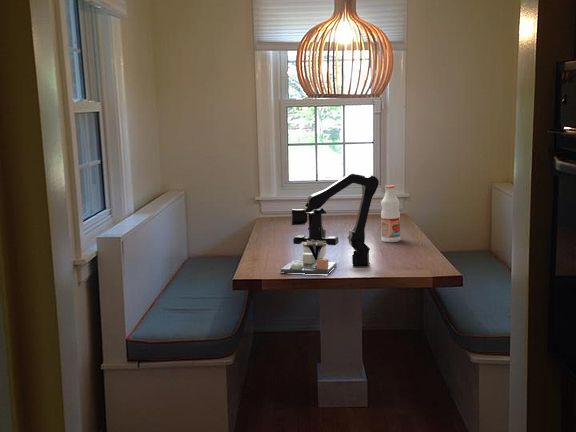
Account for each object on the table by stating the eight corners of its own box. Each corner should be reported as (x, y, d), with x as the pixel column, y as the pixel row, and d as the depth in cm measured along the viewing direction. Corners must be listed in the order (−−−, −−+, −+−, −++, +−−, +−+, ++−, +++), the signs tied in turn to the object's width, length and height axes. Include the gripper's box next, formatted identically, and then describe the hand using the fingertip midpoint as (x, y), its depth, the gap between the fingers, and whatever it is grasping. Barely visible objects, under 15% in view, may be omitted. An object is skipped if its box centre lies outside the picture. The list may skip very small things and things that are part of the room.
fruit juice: (384, 238, 351) (383, 184, 347) (402, 239, 348) (401, 184, 343) (379, 242, 343) (378, 186, 338) (397, 242, 339) (397, 186, 335)
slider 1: (313, 262, 296) (313, 253, 295) (311, 263, 293) (311, 254, 292) (305, 261, 297) (304, 252, 296) (302, 263, 294) (302, 254, 294)
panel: (336, 266, 295) (336, 262, 295) (326, 275, 280) (326, 270, 280) (292, 264, 302) (292, 260, 301) (280, 273, 287) (280, 268, 286)
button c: (303, 270, 289) (303, 263, 288) (300, 273, 285) (299, 266, 284) (293, 270, 290) (293, 263, 290) (290, 272, 286) (289, 265, 286)
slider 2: (328, 267, 284) (328, 258, 284) (326, 269, 282) (326, 260, 281) (319, 267, 286) (318, 258, 285) (317, 269, 283) (316, 259, 282)
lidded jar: (312, 256, 317) (312, 236, 316) (331, 258, 310) (331, 238, 309) (298, 260, 309) (297, 240, 308) (317, 263, 302) (316, 242, 301)
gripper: (341, 221, 295) (342, 256, 298) (300, 220, 301) (301, 255, 304) (334, 226, 285) (335, 262, 288) (292, 224, 291) (293, 260, 294)
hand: (316, 259), depth 293 cm, fingers closed
